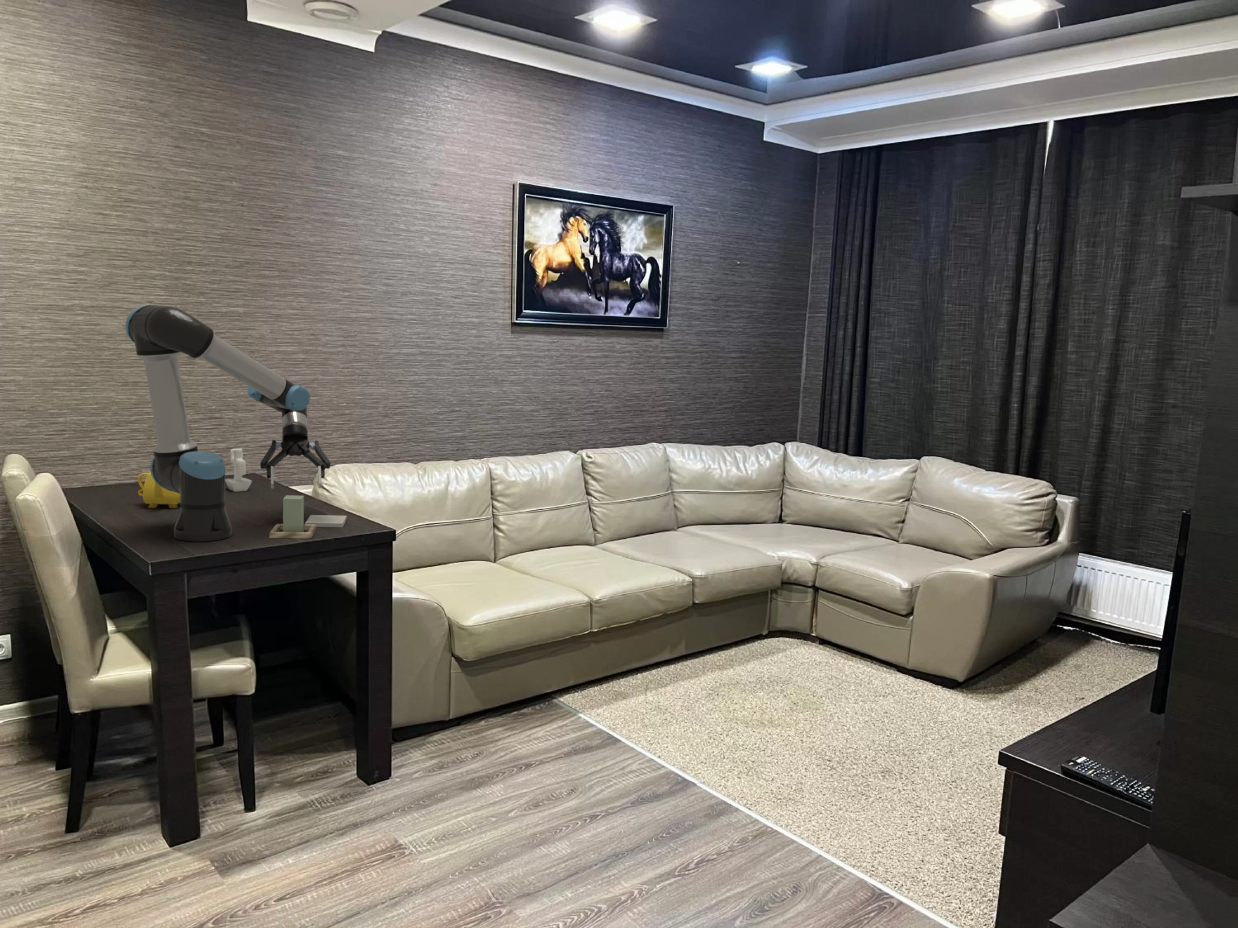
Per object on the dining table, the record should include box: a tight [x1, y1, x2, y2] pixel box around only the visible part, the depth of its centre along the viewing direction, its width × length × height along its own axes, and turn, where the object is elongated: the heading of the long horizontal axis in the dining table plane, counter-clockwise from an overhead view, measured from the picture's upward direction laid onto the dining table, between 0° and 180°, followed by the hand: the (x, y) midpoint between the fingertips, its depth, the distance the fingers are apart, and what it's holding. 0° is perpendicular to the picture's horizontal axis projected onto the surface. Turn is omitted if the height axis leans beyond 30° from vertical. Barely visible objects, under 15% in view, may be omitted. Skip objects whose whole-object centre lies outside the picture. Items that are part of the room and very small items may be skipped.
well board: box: [268, 523, 317, 539], centre depth 268 cm, size 11×11×2 cm
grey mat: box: [304, 514, 348, 528], centre depth 284 cm, size 11×11×1 cm
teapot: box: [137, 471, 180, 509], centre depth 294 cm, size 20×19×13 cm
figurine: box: [225, 447, 253, 493], centre depth 324 cm, size 7×9×15 cm
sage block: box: [282, 494, 305, 532], centre depth 268 cm, size 5×5×11 cm
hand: (296, 486), depth 275 cm, fingers open, 13 cm apart
